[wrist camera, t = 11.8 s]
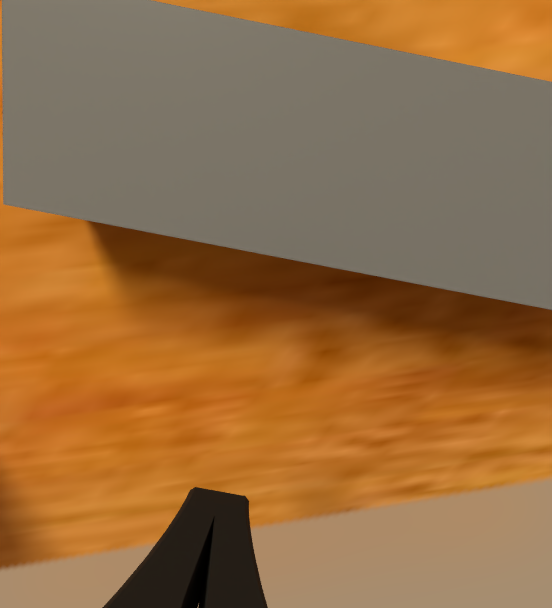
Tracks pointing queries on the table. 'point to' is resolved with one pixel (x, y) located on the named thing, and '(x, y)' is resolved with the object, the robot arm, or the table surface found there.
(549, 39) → the table surface
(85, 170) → the charging dock
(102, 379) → the table surface
